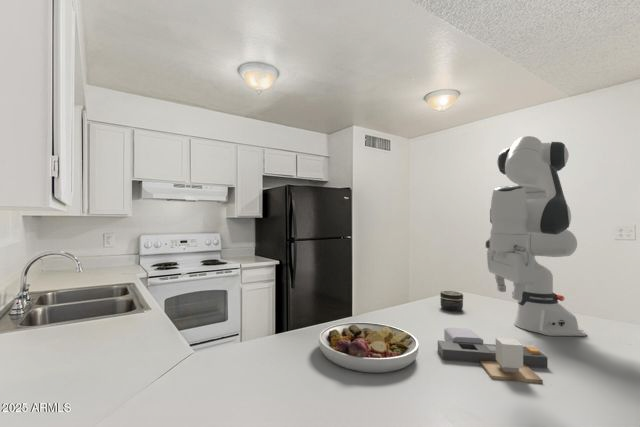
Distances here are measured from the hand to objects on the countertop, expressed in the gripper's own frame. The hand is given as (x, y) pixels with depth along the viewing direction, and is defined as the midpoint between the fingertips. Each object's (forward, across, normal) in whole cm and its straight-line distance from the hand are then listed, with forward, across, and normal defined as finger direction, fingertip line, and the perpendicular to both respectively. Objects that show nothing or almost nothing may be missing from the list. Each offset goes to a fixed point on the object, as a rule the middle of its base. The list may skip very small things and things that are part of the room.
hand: (508, 295), depth 85 cm
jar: (+21, +63, -1) cm, 67 cm away
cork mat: (+21, 0, 0) cm, 21 cm away
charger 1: (+21, +20, +7) cm, 30 cm away
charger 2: (+20, 0, 0) cm, 20 cm away
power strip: (+21, +8, +2) cm, 22 cm away
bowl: (+21, +5, +38) cm, 44 cm away
